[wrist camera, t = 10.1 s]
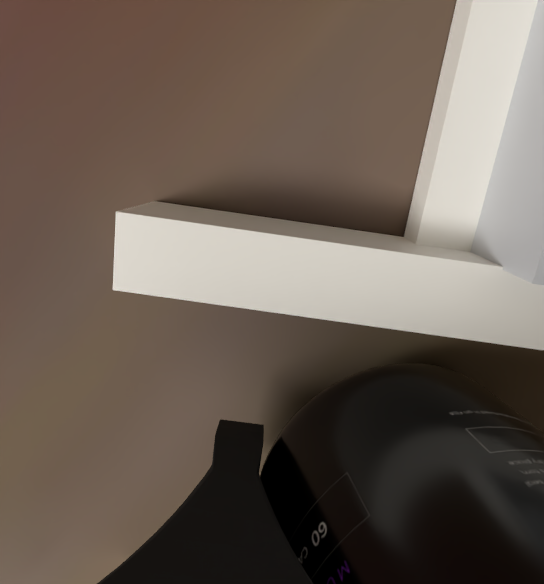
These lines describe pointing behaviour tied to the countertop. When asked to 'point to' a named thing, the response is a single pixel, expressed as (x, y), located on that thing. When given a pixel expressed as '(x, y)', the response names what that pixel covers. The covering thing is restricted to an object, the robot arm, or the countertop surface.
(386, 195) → the countertop surface
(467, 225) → the white knob panel
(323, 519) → the supplement bottle
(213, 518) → the robot arm
